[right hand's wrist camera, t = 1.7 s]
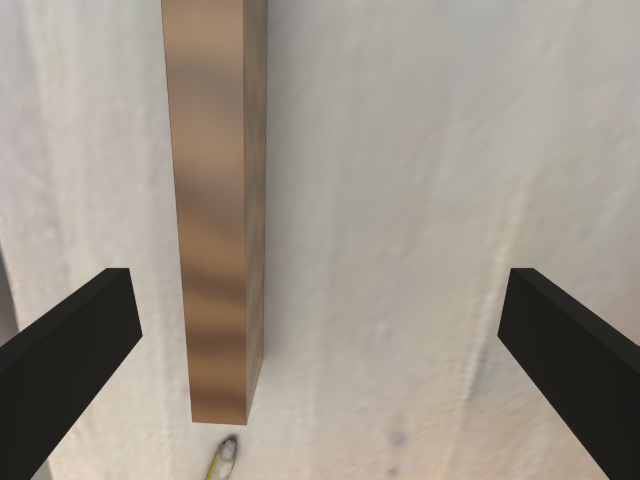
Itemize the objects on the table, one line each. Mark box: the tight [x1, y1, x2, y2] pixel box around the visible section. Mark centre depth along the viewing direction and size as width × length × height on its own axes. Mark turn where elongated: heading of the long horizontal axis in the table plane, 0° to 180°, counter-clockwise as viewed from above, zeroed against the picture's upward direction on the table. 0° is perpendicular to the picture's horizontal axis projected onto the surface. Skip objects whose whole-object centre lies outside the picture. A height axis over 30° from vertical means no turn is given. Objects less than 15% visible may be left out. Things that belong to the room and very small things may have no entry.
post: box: [161, 0, 267, 425], centre depth 24 cm, size 61×5×8 cm, turn 176°
